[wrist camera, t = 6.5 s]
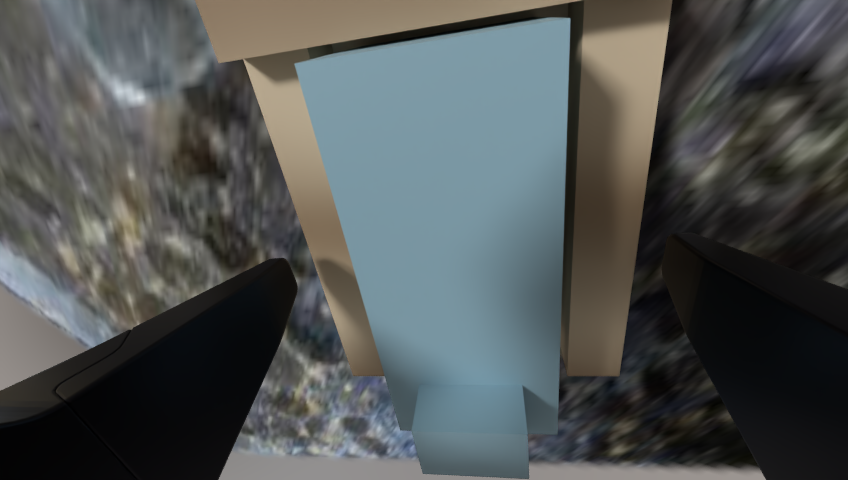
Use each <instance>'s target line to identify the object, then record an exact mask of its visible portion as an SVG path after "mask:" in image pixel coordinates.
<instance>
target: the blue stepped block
mask: <svg viewBox="0 0 848 480" xmlns="http://www.w3.org/2000/svg"><path fill="white" fill-rule="evenodd" d="M569 50H570V18H556V17H530V18H524V19H518V20H513V21H507V22H501V23H495V24H489V25H483V26H477V27H471V28H465V29H459V30H453V31H447V32H442V33H436V34H430V35H424V36H418V37H412V38H406V39H400V40H394V41H388V42H382V43H376V44H370V45H365V46H360V47H357V48H353V49H349V50H345V51H341V52H337V53H333V54H330V55H326V56H322V57H318V58H314V59H310V60H307V61H303V62H299V63H295V68H296V71H297V75H298V78H299V82H300V85H301V89H302V92H303V96H304V99H305V102H306V106H307V109H308V113H309V116H310V120H311V123H312V127H313V130H314V134H315V137H316V140H317V144H318V147H319V151H320V154H321V158H322V161H323V165H324V168H325V171H326V175H327V178H328V182H329V185H330V189H331V192H332V196H333V199H334V203H335V206H336V209H337V213H338V216H339V220H340V223H341V227H342V230H343V234H344V237H345V240H346V244H347V247H348V251H349V254H350V258H351V261H352V265H353V268H354V272H355V275H356V278H357V282H358V285H359V289H360V292H361V296H362V299H363V303H364V306H365V309H366V313H367V316H368V320H369V323H370V327H371V330H372V334H373V337H374V341H375V344H376V347H377V351H378V354H379V358H380V361H381V365H382V368H383V372H384V375H385V378H386V382H387V385H388V389H389V392H390V396H391V399H392V403H393V406H394V410H395V413H396V416H397V420H398V423H399V427H400V430H407V431H412V435H413V439H414V442H415V446H416V450H417V454H418V457H419V461H420V465H421V469H422V472H423V474H439V475H440V474H441V475H460V476H480V477H500V478H520V479H529V460H528V434H550V435H557V434H558V402H559V370H560V338H561V306H562V274H563V242H564V210H565V178H566V146H567V114H568V82H569Z"/></svg>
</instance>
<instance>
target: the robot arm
mask: <svg viewBox="0 0 848 480" xmlns="http://www.w3.org/2000/svg"><path fill="white" fill-rule="evenodd" d="M662 275H663V278H664V280H665V283H666V285H667V288H668V291H669V293H670V296H671V298H672V301H673V303H674V306H675V308H676V311H677V313H678V316H679V318H680V321H681V323H682V326H683V328H684V330H685V333H686V335H687V337H688V339H689V341H690V343H691V345H692V346H693V348H694V350H695V352H696V354H697V355H698V357H699V359H700V361H701V363H702V365H703V366H704V368H705V370H706V372H707V374H708V375H709V377H710V379H711V381H712V383H713V384H714V386H715V388H716V390H717V392H718V393H719V395H720V397H721V399H722V401H723V403H724V404H725V406H726V408H727V410H728V412H729V413H730V415H731V417H732V419H733V421H734V422H735V424H736V426H737V428H738V430H739V431H740V433H741V435H742V437H743V439H744V441H745V442H746V444H747V446H748V448H749V450H750V451H751V453H752V455H753V457H754V459H755V460H756V462H757V464H758V466H759V468H760V470H761V471H762V473H763V475H764V477H765V478H766V480H848V289H845V288H842V287H840V286H837V285H834V284H831V283H829V282H826V281H823V280H820V279H818V278H815V277H812V276H809V275H807V274H804V273H801V272H798V271H796V270H793V269H790V268H787V267H785V266H782V265H779V264H777V263H774V262H771V261H768V260H766V259H763V258H760V257H757V256H755V255H752V254H749V253H746V252H744V251H741V250H738V249H735V248H733V247H730V246H727V245H724V244H722V243H719V242H716V241H713V240H711V239H708V238H705V237H702V236H700V235H697V234H694V233H674V234H671V235H669V236H668V238H667V241H666V246H665V252H664V257H663V263H662ZM297 290H298V287H297V282H296V280H295V277H294V275H293V272H292V269H291V267H290V264H289V262H288V261H287V260H286V259H284V258H275V259H269V260H267V261H265V262H263V263H261V264H259V265H257V266H255V267H253V268H251V269H249V270H247V271H245V272H243V273H241V274H239V275H237V276H235V277H233V278H231V279H229V280H227V281H225V282H223V283H221V284H219V285H217V286H215V287H213V288H211V289H209V290H207V291H205V292H203V293H201V294H199V295H197V296H195V297H193V298H191V299H189V300H187V301H185V302H183V303H181V304H179V305H177V306H175V307H173V308H171V309H169V310H167V311H165V312H163V313H161V314H159V315H157V316H155V317H153V318H151V319H149V320H147V321H145V322H143V323H141V324H139V325H137V326H136V327H134V328H133V329H132V330H127V331H125V332H123V333H121V334H119V335H117V336H116V337H114V338H112V339H109V340H107V341H105V342H103V343H101V344H99V345H97V346H95V347H93V348H91V349H89V350H87V351H85V352H83V353H81V354H79V355H77V356H75V357H72V358H70V359H68V360H66V361H64V362H62V363H60V364H57V365H55V366H53V367H51V368H49V369H47V370H44V371H42V372H40V373H38V374H36V375H34V376H31V377H29V378H27V379H25V380H23V381H21V382H18V383H16V384H14V385H12V386H10V387H8V388H5V389H4V390H1V391H0V480H218V479H219V477H220V475H221V473H222V470H223V468H224V466H225V464H226V461H227V459H228V457H229V455H230V453H231V451H232V448H233V446H234V444H235V442H236V440H237V437H238V435H239V433H240V431H241V429H242V426H243V424H244V422H245V420H246V418H247V415H248V413H249V411H250V409H251V407H252V404H253V402H254V400H255V398H256V396H257V393H258V391H259V389H260V387H261V385H262V382H263V380H264V378H265V376H266V374H267V371H268V369H269V367H270V365H271V363H272V360H273V358H274V356H275V354H276V352H277V349H278V347H279V345H280V342H281V340H282V337H283V334H284V331H285V328H286V325H287V322H288V319H289V316H290V313H291V310H292V307H293V304H294V301H295V298H296V295H297Z"/></svg>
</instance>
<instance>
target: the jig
mask: <svg viewBox="0 0 848 480" xmlns="http://www.w3.org/2000/svg"><path fill="white" fill-rule="evenodd" d="M195 1H196V4H197V6H198V9H199V12H200V14H201V17H202V20H203V22H204V25H205V28H206V30H207V33H208V36H209V38H210V41H211V44H212V46H213V49H214V52H215V54H216V57H217V59H218V62H219V63H223V62H228V61H234V60H240V59H244V62H245V65H246V68H247V71H248V74H249V77H250V80H251V82H252V85H253V88H254V91H255V94H256V97H257V100H258V103H259V106H260V108H261V111H262V114H263V117H264V120H265V123H266V126H267V129H268V131H269V134H270V137H271V140H272V143H273V146H274V149H275V152H276V154H277V157H278V160H279V163H280V166H281V169H282V172H283V175H284V177H285V180H286V183H287V186H288V189H289V192H290V195H291V198H292V200H293V203H294V206H295V209H296V212H297V215H298V218H299V221H300V224H301V226H302V229H303V232H304V235H305V238H306V241H307V244H308V247H309V249H310V252H311V255H312V258H313V261H314V264H315V267H316V270H317V272H318V275H319V278H320V281H321V284H322V287H323V290H324V293H325V295H326V298H327V301H328V304H329V307H330V310H331V313H332V316H333V318H334V321H335V324H336V327H337V330H338V333H339V336H340V339H341V341H342V344H343V347H344V350H345V353H346V356H347V359H348V362H349V365H350V367H351V370H352V373H353V376H385V375H384V372H383V368H382V365H381V361H380V358H379V354H378V351H377V347H376V344H375V341H374V337H373V334H372V330H371V327H370V323H369V320H368V316H367V313H366V309H365V306H364V303H363V299H362V296H361V292H360V289H359V285H358V282H357V278H356V275H355V272H354V268H353V265H352V261H351V258H350V254H349V251H348V247H347V244H346V240H345V237H344V234H343V230H342V227H341V223H340V220H339V216H338V213H337V209H336V206H335V203H334V199H333V196H332V192H331V189H330V185H329V182H328V178H327V175H326V171H325V168H324V165H323V161H322V158H321V154H320V151H319V147H318V144H317V140H316V137H315V134H314V130H313V127H312V123H311V120H310V116H309V113H308V109H307V106H306V102H305V99H304V96H303V92H302V89H301V85H300V82H299V78H298V75H297V71H296V68H295V63H299V62H303V61H307V60H310V59H314V58H318V57H322V56H326V55H330V54H333V53H337V52H341V51H345V50H349V49H353V48H357V47H360V46H365V45H370V44H376V43H382V42H388V41H394V40H400V39H406V38H412V37H418V36H424V35H430V34H436V33H442V32H447V31H453V30H459V29H465V28H471V27H477V26H483V25H489V24H495V23H501V22H507V21H513V20H518V19H524V18H530V17H556V18H570V50H569V82H568V114H567V146H566V178H565V210H564V242H563V274H562V306H561V338H560V348H561V352H562V356H563V361H564V365H565V369H566V373H567V376H619V374H620V367H621V360H622V353H623V346H624V339H625V332H626V325H627V318H628V311H629V304H630V297H631V290H632V282H633V275H634V268H635V261H636V254H637V247H638V240H639V233H640V226H641V219H642V212H643V205H644V198H645V191H646V183H647V176H648V169H649V162H650V155H651V148H652V141H653V134H654V127H655V120H656V113H657V106H658V99H659V92H660V84H661V77H662V70H663V63H664V56H665V49H666V42H667V35H668V28H669V21H670V14H671V7H672V0H195Z"/></svg>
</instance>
